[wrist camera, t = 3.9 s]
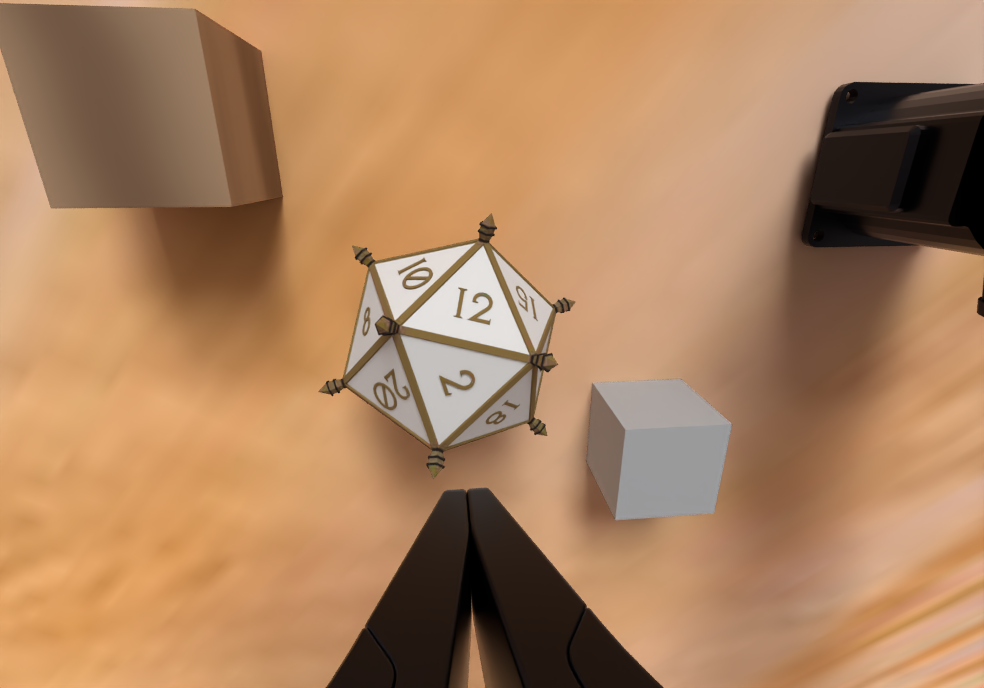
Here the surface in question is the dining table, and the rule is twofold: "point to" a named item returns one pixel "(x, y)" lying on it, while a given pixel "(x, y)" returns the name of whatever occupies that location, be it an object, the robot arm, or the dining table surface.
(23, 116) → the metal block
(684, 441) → the slate block
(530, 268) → the dining table surface
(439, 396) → the game die
